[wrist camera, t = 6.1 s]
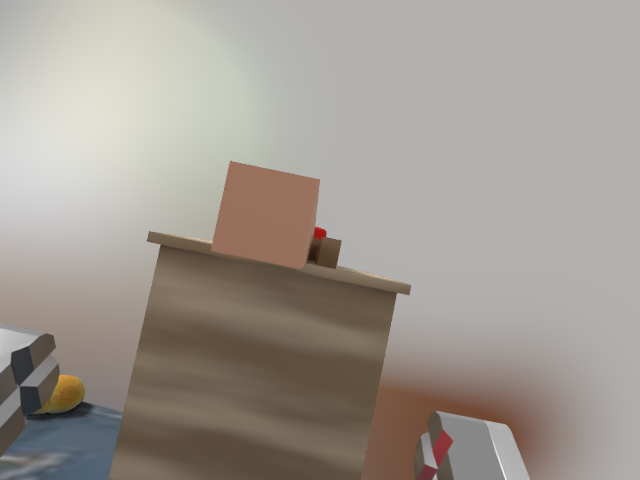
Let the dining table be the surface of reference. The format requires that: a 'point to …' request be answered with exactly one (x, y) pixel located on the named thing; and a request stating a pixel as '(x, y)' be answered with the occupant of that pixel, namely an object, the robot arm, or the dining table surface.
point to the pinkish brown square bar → (267, 215)
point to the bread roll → (64, 396)
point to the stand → (254, 367)
